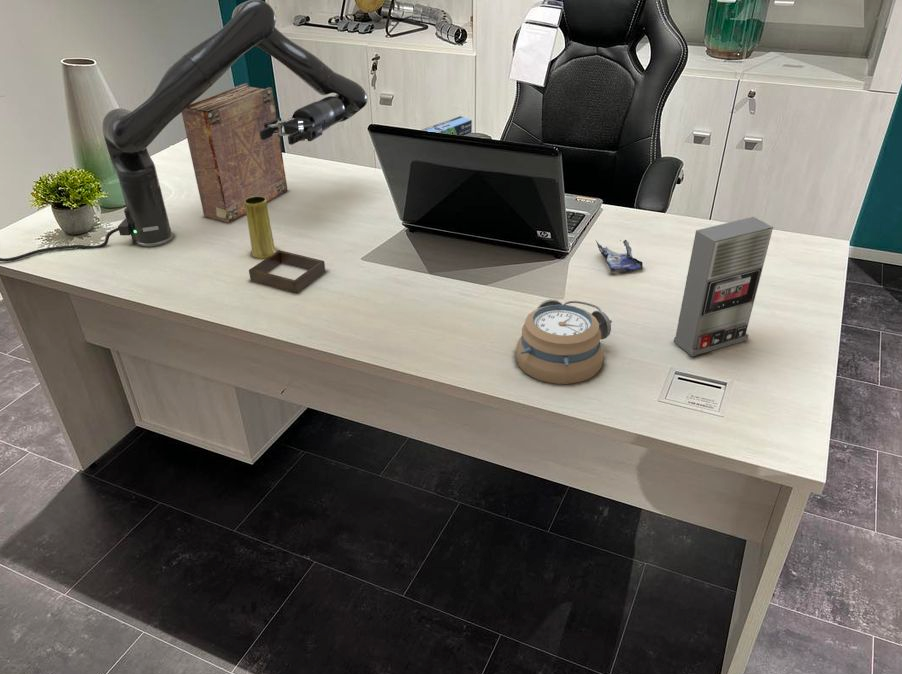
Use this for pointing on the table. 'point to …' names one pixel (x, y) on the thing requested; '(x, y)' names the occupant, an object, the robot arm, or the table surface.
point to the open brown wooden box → (295, 286)
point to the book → (234, 150)
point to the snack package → (620, 259)
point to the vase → (259, 227)
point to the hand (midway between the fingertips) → (275, 138)
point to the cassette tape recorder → (722, 284)
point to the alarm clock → (562, 342)
